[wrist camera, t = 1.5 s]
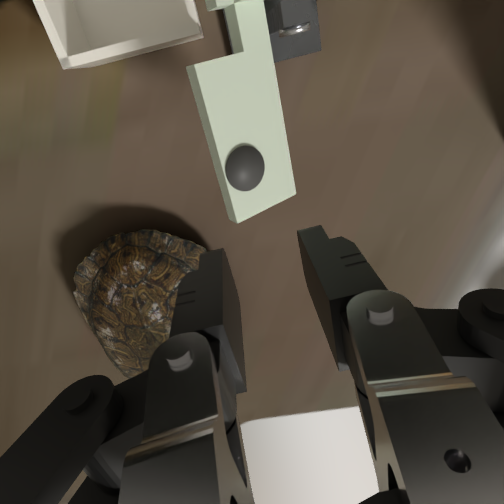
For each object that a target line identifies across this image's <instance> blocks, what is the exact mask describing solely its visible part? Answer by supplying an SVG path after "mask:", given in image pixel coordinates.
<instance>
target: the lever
mask: <svg viewBox="0 0 504 504" xmlns="http://www.w3.org/2000/svg"><path fill="white" fill-rule="evenodd" d="M205 3H206V7H207V11H213V10H218V9H223V8H224V10H225V14H226V19H227V24H228V28H229V33H230V37H231V42H232V47H233V51H234V54H233V55H229V56H225V57H221V58H217V59H214V60H210V61H206V62H202V63H198V64H194V65H191V66H187V67H186V69H187V73H188V76H189V80H190V83H191V87H192V90H193V94H194V97H195V101H196V104H197V108H198V111H199V115H200V118H201V122H202V125H203V129H204V132H205V136H206V140H207V143H208V147H209V150H210V154H211V157H212V161H213V164H214V168H215V171H216V175H217V178H218V182H219V185H220V189H221V192H222V196H223V199H224V203H225V206H226V210H227V213H228V217H229V220H231V221H233V222H235V223H237V224H238V223H240V222H242V221H244V220H246V219H248V218H250V217H252V216H254V215H256V214H258V213H260V212H262V211H264V210H266V209H268V208H270V207H271V206H273V205H275V204H277V203H279V202H281V201H283V200H285V199H287V198H289V197H291V196H293V195H295V194H296V190H295V184H294V178H293V172H292V166H291V160H290V154H289V148H288V143H287V137H286V131H285V125H284V119H283V113H282V107H281V101H280V95H279V89H278V84H277V78H276V72H275V66H274V60H273V54H272V48H271V42H270V36H269V30H268V25H267V19H266V13H265V7H264V0H205Z"/></svg>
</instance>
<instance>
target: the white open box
mask: <svg viewBox="0 0 504 504" xmlns="http://www.w3.org/2000/svg"><path fill="white" fill-rule="evenodd" d="M33 2H34V5H35V7H36V9H37V11H38V14H39V16H40V18H41V20H42V23H43V25H44V27H45V29H46V32H47V34H48V36H49V38H50V41H51V43H52V45H53V47H54V50H55V52H56V54H57V56H58V59H59V61H60V63H61V65H62V68H63V69H75V68H87V67H95V66H99V65H103V64H106V63H110V62H114V61H118V60H122V59H125V58H129V57H133V56H137V55H140V54H144V53H148V52H152V51H156V50H159V49H163V48H167V47H171V46H175V45H178V44H182V43H186V42H190V41H193V40H197V39H201V38H204V36H203V32H202V28H201V24H200V20H199V16H198V12H197V8H196V4H195V0H33Z"/></svg>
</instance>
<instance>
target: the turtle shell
mask: <svg viewBox="0 0 504 504" xmlns="http://www.w3.org/2000/svg"><path fill="white" fill-rule="evenodd" d="M205 252H208V251H207V250H206V248H204V247H202V246H200V245H197V244H195V243H193V242H191V241H189V240H185V239H181V238H179V237H178V236H172V235H170V234H168V233H162V232H159V231H157V230H143V229H141V230H139V231H137V232H131V233H127V234H125V233H119V234H117V235H113V236H110V237H108V238H107V239H106V241H103V242H101V243H100V244H99V246H98V247H97V248H95V249H93V251H92V252H91V255H90V256H85V258H84V260H83V261H82V263H79V264H78V265H77V271H76V272H75V276H74V282H75V285H76V290H75V291H73V295H74V297H75V300H76V303H77V305H78V306H79V308H80V310H81V312H82V314H83V316H84V318H85V320H86V322H87V324H88V325H89V326H90V328H91V329H92V331H93V333H94V334H95V336H96V337H97V339H98V341H99V342H100V344H101V345H102V347H103V349H104V351H105V353H106V355H107V356H108V358H109V359H110V361H111V362H112V363H113V365H114V366H115V367H116V369H117V370H119V371H120V372H121V373H122V374H123V375H124V376H125V377H127V378H129V379H130V378H132V377H134V376H136V375H139V374H140V373H142V372H144V371H146V370H147V369H148V368H149V361H150V358H151V356H152V354H153V353H154V351H155V350H156V349H157V348H158V347H159V346H160V345H161V344H162V343H163V342H164V341H166V340H168V339H169V334H170V329H171V323H172V318H173V312H174V307H175V302H176V297H177V291H178V285H179V283H180V282H181V280H182V279H183V277H184V276H185V275H186V273H188V272H192V271H196V270H198V267H199V257H200V254H201V253H205Z"/></svg>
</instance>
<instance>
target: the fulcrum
mask: <svg viewBox="0 0 504 504" xmlns="http://www.w3.org/2000/svg"><path fill="white" fill-rule="evenodd" d="M264 7H265V13H266V19H267V25H268V30H269V36H270V42H271V48H272V54H273V60H274V63H275V62H279V61H282V60H286V59H290V58H294V57H298V56H302V55H306V54H309V53H313V52H317V51H321V42H320V32H319V23H318V14H317V4H316V0H264ZM222 10H223V15H224V19H225V24H226V28H227V33H228V37H229V42H230V46H231V51H232V55H233V54H234V51H233V47H232V42H231V37H230V33H229V28H228V24H227V19H226V14H225V10H224V8H223V9H222Z"/></svg>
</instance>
